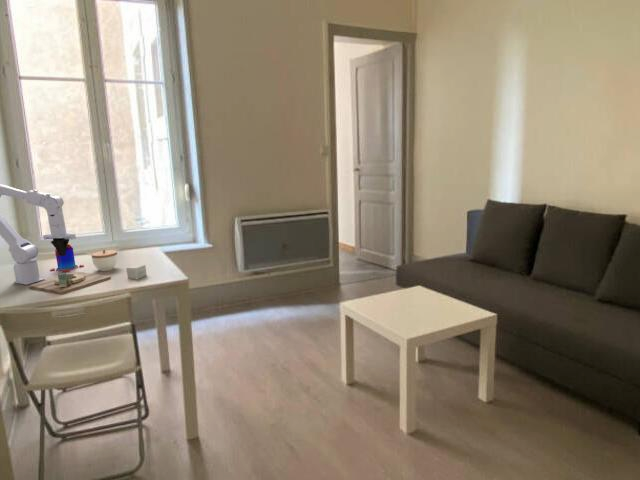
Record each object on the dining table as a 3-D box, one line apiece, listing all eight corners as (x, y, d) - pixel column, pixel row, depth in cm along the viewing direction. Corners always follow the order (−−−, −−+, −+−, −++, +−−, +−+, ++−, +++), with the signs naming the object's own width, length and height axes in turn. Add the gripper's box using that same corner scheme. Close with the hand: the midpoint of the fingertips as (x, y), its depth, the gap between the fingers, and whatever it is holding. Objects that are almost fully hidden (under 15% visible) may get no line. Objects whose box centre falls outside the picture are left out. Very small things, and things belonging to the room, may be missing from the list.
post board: (28, 287, 187) (26, 278, 186) (78, 273, 206) (76, 265, 205) (62, 294, 177) (60, 284, 176) (111, 278, 196) (109, 269, 195)
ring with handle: (60, 277, 195) (58, 266, 194) (88, 275, 197) (86, 264, 196) (47, 288, 181) (45, 276, 180) (77, 285, 183) (75, 273, 182)
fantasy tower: (65, 272, 208) (61, 247, 206) (46, 271, 212) (42, 246, 210) (86, 266, 219) (83, 241, 217) (68, 264, 223) (64, 240, 221)
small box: (137, 274, 200) (135, 264, 199) (147, 275, 198) (145, 264, 197) (127, 278, 195) (125, 267, 194) (137, 279, 193) (136, 268, 192)
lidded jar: (88, 271, 209) (85, 251, 207) (107, 265, 219) (104, 246, 217) (106, 273, 205) (103, 252, 203) (124, 267, 215) (121, 247, 213)
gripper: (35, 226, 191) (41, 258, 193) (64, 225, 187) (70, 258, 190) (48, 223, 197) (54, 254, 200) (77, 222, 194) (82, 253, 197)
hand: (62, 255), depth 195 cm, fingers closed
